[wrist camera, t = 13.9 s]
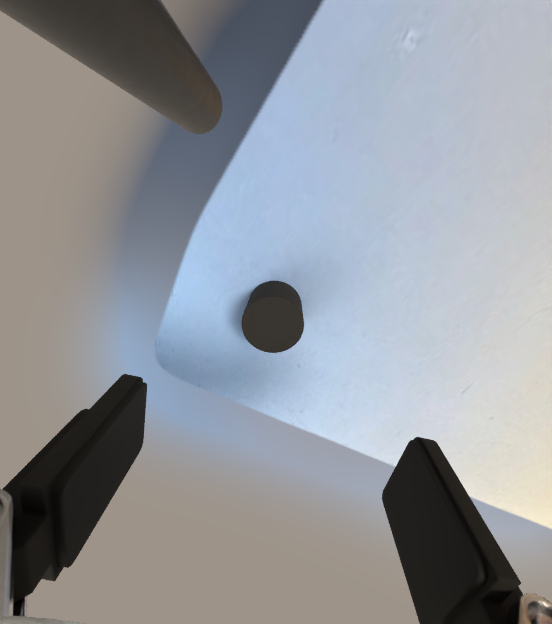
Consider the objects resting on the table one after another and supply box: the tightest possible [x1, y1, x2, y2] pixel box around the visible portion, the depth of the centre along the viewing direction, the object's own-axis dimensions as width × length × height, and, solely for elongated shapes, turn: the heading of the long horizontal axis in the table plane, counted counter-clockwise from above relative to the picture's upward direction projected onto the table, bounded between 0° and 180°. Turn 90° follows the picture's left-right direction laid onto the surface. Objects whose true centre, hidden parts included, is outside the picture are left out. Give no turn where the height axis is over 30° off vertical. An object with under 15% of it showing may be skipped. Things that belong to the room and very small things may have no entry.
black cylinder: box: [242, 281, 304, 353], centre depth 20 cm, size 4×4×4 cm
